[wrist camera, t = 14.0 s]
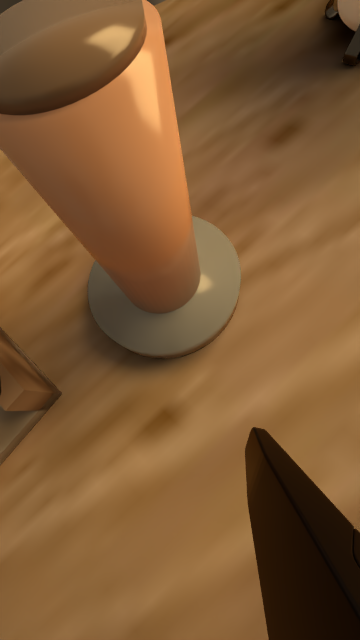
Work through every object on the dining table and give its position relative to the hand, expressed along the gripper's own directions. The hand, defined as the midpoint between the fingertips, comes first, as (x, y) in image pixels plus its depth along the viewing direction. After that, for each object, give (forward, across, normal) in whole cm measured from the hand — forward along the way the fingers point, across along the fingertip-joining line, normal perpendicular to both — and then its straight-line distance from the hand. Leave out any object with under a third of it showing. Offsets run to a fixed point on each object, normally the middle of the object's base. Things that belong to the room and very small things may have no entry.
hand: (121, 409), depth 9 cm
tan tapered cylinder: (+12, +1, -3) cm, 12 cm away
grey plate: (+14, +1, -2) cm, 14 cm away
